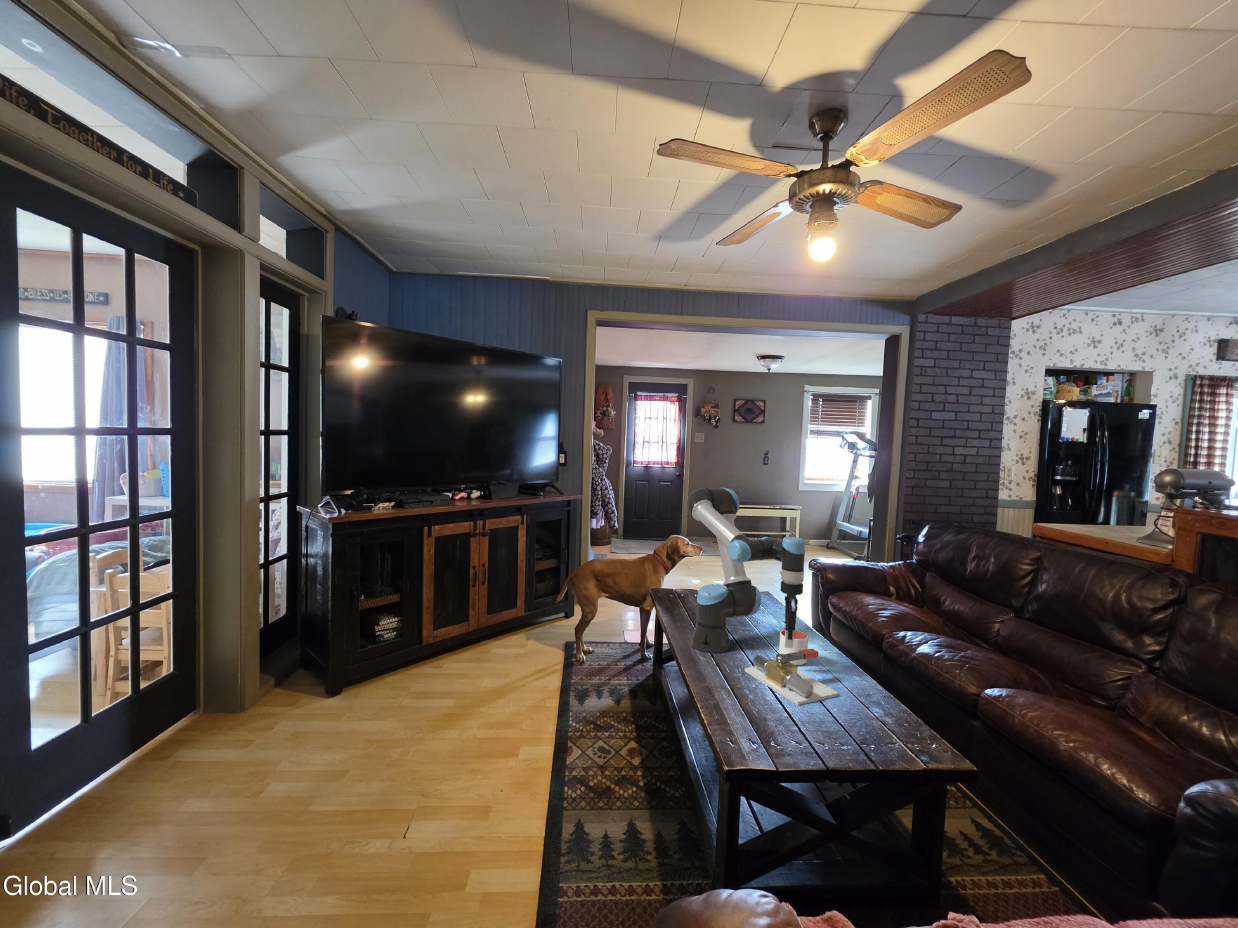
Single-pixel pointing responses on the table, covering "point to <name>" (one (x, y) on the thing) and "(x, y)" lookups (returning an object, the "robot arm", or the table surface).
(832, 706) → the table surface
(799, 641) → the cup
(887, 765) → the table surface
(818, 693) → the board
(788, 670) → the valve
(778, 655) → the lever
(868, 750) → the table surface
